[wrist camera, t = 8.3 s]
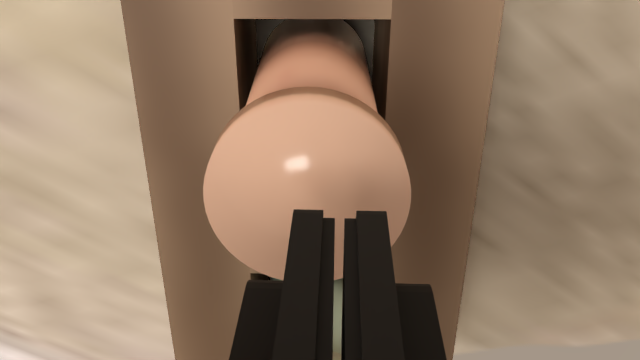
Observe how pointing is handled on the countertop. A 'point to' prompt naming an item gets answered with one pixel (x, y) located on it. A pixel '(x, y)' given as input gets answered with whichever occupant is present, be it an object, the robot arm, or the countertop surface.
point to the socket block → (231, 96)
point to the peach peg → (304, 148)
